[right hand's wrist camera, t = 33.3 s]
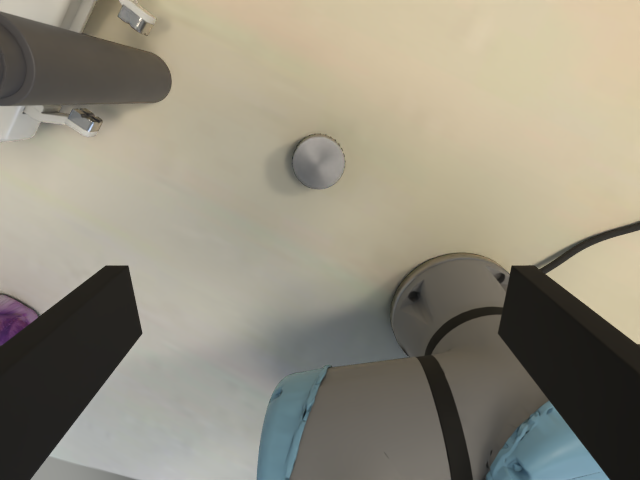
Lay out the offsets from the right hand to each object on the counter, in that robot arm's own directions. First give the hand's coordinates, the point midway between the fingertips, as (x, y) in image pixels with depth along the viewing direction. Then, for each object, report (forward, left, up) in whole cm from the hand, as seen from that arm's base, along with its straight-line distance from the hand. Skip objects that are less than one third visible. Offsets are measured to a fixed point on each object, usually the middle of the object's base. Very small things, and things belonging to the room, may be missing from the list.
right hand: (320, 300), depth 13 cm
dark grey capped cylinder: (+14, -12, -27) cm, 33 cm away
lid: (0, -1, -25) cm, 25 cm away
